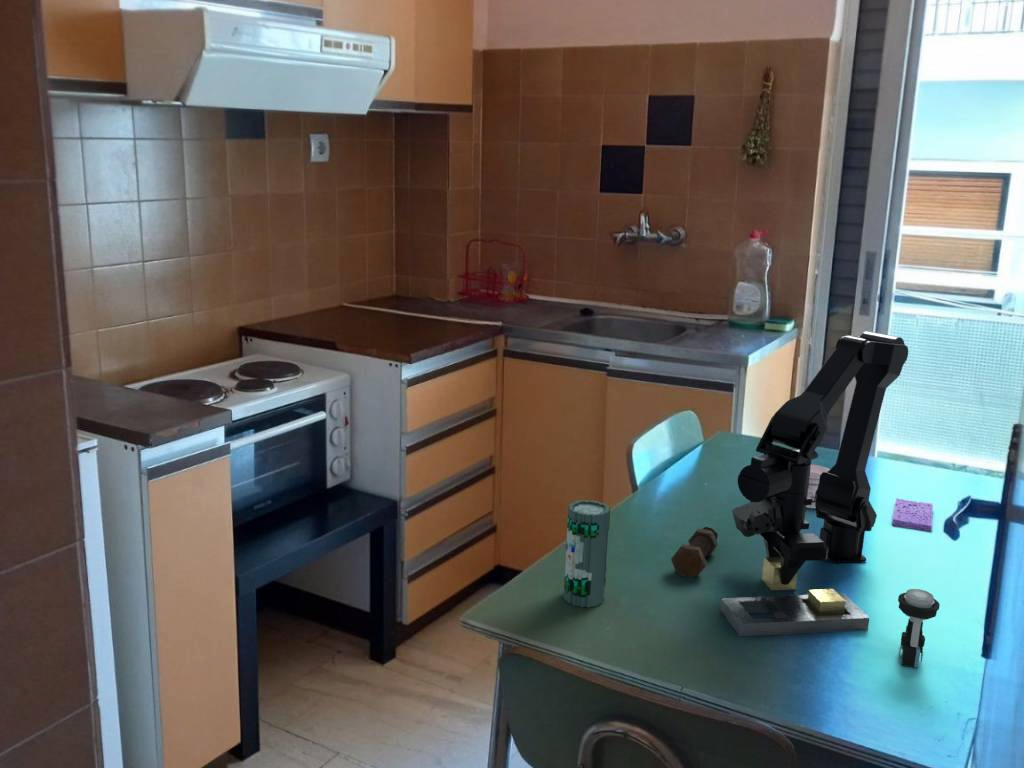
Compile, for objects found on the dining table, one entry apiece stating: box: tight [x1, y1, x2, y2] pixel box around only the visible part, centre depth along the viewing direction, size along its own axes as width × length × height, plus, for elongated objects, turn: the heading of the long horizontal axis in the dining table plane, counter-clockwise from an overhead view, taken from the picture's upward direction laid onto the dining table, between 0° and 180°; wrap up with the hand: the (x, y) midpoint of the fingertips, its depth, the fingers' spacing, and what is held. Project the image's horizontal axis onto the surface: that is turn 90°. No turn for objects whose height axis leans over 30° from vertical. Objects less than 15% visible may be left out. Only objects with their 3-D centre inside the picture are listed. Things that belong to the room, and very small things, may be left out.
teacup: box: [806, 463, 831, 510], centre depth 200 cm, size 12×12×6 cm
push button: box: [897, 588, 941, 669], centre depth 138 cm, size 7×5×10 cm
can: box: [563, 499, 611, 609], centre depth 152 cm, size 6×6×15 cm
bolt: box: [671, 526, 719, 579], centre depth 169 cm, size 6×5×15 cm
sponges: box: [891, 497, 934, 532], centre depth 192 cm, size 7×13×2 cm, turn 157°
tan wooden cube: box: [807, 588, 846, 616], centre depth 149 cm, size 4×4×4 cm
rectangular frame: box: [719, 593, 870, 637], centre depth 149 cm, size 20×8×2 cm, turn 99°
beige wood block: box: [761, 556, 798, 591], centre depth 160 cm, size 4×4×4 cm
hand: (779, 578), depth 161 cm, fingers closed on beige wood block, 4 cm apart
